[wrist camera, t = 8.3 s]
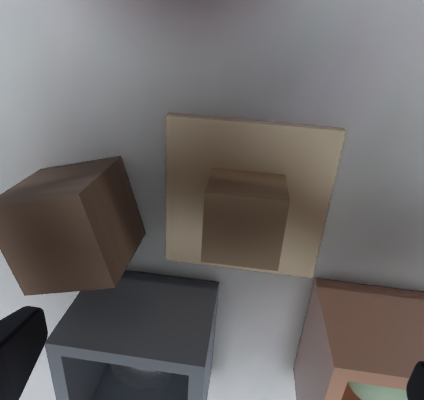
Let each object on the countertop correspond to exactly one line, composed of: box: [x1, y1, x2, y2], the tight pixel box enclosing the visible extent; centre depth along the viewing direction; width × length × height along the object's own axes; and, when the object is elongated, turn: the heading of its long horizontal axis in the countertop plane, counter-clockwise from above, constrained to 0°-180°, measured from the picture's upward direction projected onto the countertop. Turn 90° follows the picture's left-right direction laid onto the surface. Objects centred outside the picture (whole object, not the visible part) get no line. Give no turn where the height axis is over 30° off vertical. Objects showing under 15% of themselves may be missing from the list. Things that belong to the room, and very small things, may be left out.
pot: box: [293, 279, 424, 400], centre depth 16 cm, size 6×6×5 cm
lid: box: [166, 113, 346, 278], centre depth 15 cm, size 7×7×4 cm
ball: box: [348, 381, 408, 400], centre depth 16 cm, size 3×3×3 cm
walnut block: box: [0, 156, 145, 295], centre depth 15 cm, size 4×4×4 cm
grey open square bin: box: [45, 271, 219, 400], centre depth 17 cm, size 6×6×5 cm
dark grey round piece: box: [110, 364, 172, 390], centre depth 18 cm, size 3×3×2 cm
